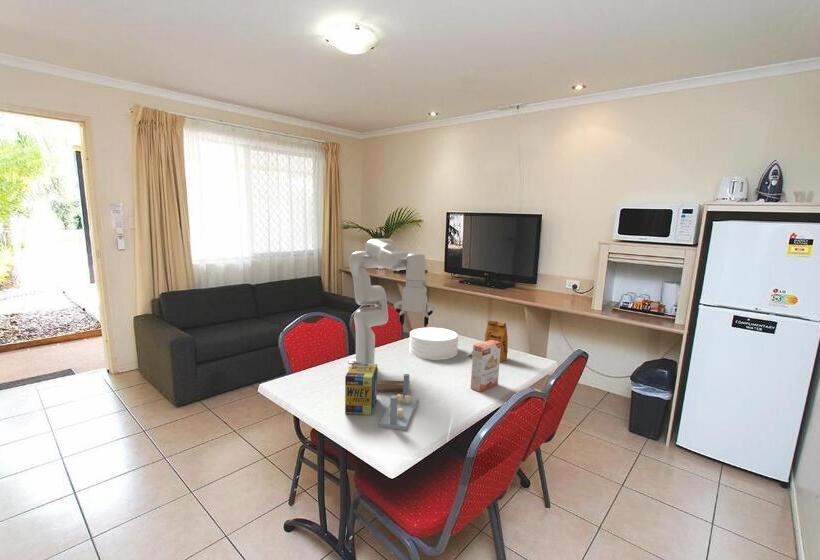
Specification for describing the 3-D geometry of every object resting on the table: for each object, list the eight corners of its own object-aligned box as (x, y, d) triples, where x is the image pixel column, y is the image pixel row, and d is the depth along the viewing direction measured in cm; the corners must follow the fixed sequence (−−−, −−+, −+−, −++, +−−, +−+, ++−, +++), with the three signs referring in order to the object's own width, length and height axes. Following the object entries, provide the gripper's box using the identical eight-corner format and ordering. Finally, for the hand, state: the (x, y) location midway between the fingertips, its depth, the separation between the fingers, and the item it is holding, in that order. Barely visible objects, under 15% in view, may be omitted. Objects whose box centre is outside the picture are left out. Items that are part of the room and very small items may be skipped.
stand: (379, 426, 140) (379, 396, 138) (395, 398, 163) (395, 372, 162) (405, 430, 138) (406, 400, 136) (418, 401, 161) (419, 375, 160)
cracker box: (480, 393, 171) (483, 347, 168) (469, 388, 176) (472, 344, 173) (499, 385, 181) (501, 341, 178) (488, 381, 185) (490, 338, 182)
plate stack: (399, 351, 226) (399, 332, 224) (432, 342, 245) (433, 325, 243) (433, 364, 206) (434, 343, 204) (467, 354, 224) (468, 334, 223)
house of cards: (488, 358, 218) (489, 345, 217) (481, 362, 211) (482, 349, 210) (474, 355, 223) (475, 342, 222) (467, 358, 216) (467, 345, 215)
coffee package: (501, 364, 208) (503, 325, 205) (481, 359, 216) (483, 320, 213) (509, 360, 215) (512, 321, 212) (490, 355, 223) (492, 318, 220)
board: (409, 393, 169) (409, 385, 168) (372, 392, 169) (372, 383, 169) (409, 389, 173) (409, 381, 173) (374, 388, 174) (374, 379, 173)
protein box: (344, 414, 148) (344, 376, 146) (352, 397, 164) (352, 362, 161) (371, 416, 148) (372, 377, 146) (377, 398, 163) (377, 363, 161)
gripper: (437, 283, 158) (436, 324, 160) (396, 281, 161) (395, 321, 164) (435, 286, 151) (433, 329, 153) (392, 284, 154) (391, 325, 156)
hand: (413, 325), depth 158 cm, fingers open, 9 cm apart
